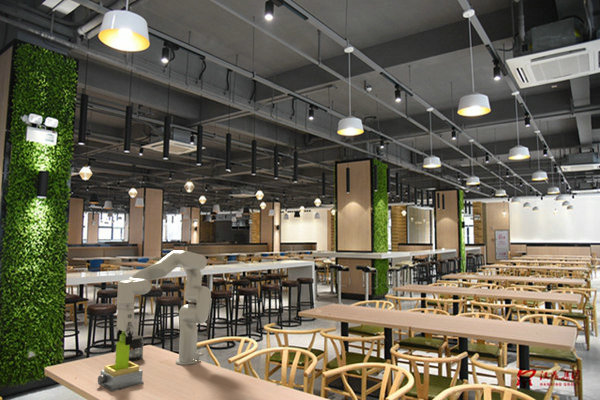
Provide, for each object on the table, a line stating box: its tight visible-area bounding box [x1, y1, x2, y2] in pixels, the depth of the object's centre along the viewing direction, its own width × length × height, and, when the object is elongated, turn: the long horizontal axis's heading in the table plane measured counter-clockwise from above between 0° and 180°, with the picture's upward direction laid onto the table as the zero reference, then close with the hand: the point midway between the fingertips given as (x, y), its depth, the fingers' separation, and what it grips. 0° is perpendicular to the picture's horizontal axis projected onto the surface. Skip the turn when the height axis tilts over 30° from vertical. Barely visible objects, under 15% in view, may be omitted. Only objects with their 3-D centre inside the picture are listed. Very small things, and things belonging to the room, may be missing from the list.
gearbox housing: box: [97, 361, 144, 392], centre depth 195 cm, size 17×15×8 cm
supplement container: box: [129, 335, 144, 362], centre depth 237 cm, size 10×10×12 cm
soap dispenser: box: [114, 329, 130, 370], centre depth 197 cm, size 6×7×20 cm
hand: (124, 342), depth 198 cm, fingers open, 9 cm apart
